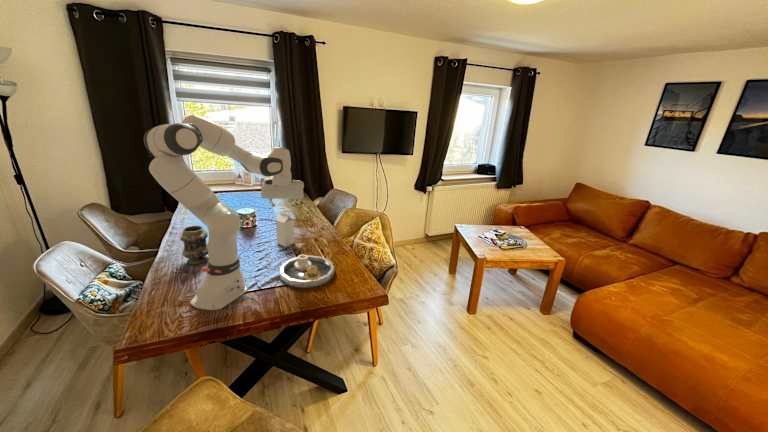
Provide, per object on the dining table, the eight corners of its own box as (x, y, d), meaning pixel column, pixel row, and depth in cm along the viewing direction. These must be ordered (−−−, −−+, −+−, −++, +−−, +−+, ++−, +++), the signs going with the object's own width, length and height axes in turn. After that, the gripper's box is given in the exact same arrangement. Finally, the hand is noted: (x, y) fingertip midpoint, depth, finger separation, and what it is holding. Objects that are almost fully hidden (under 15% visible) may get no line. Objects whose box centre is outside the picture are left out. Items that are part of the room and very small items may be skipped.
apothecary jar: (207, 253, 163) (203, 222, 157) (214, 262, 155) (210, 229, 149) (181, 259, 155) (175, 227, 149) (187, 269, 147) (181, 235, 141)
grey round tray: (322, 292, 137) (322, 278, 135) (269, 283, 141) (268, 269, 139) (340, 265, 161) (341, 253, 159) (294, 257, 165) (294, 245, 163)
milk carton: (285, 247, 176) (283, 216, 170) (277, 243, 180) (275, 213, 173) (294, 243, 182) (293, 213, 176) (286, 239, 186) (285, 210, 179)
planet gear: (309, 271, 152) (309, 261, 150) (292, 270, 152) (292, 260, 150) (312, 262, 160) (312, 253, 158) (296, 262, 159) (296, 252, 158)
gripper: (303, 178, 156) (304, 204, 161) (261, 178, 151) (263, 204, 156) (303, 181, 150) (304, 208, 155) (259, 181, 145) (261, 208, 150)
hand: (283, 206), depth 155 cm, fingers open, 8 cm apart
